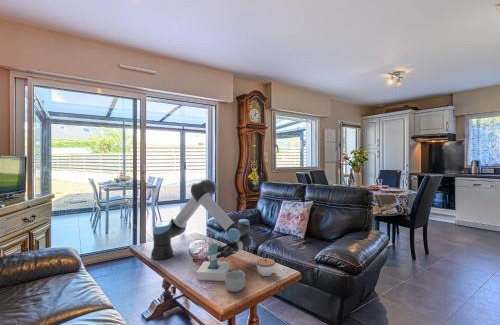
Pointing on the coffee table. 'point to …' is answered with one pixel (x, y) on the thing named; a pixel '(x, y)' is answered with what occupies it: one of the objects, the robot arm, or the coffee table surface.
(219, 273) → the socket block
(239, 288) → the teacup
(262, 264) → the lidded jar
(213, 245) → the peg
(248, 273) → the coffee table surface
